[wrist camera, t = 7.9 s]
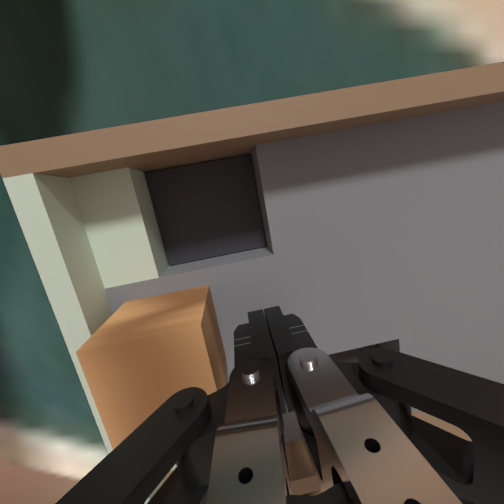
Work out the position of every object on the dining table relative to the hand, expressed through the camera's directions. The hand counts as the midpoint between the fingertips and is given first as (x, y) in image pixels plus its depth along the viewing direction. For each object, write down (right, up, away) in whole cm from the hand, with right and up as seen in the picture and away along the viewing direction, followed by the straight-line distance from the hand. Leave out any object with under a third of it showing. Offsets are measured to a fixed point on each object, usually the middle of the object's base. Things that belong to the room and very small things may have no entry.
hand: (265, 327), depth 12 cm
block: (-4, 0, +1) cm, 4 cm away
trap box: (+5, +2, +4) cm, 6 cm away
